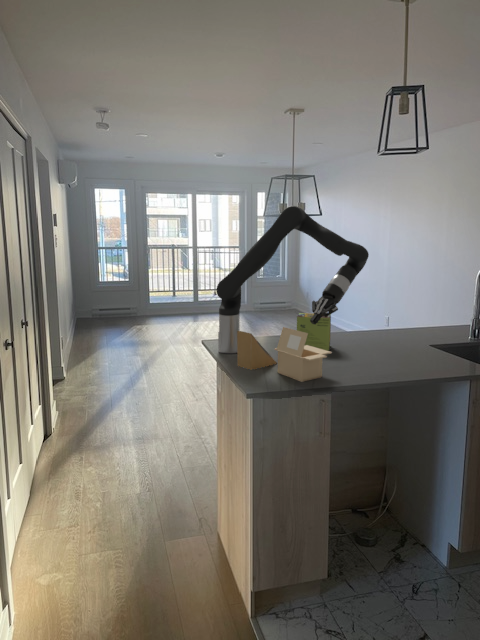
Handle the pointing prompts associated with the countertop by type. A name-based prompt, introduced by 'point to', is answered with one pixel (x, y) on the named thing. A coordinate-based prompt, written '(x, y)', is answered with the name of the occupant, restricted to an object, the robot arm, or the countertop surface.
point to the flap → (292, 341)
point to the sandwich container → (251, 352)
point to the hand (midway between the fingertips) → (312, 322)
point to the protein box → (315, 330)
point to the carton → (302, 363)
